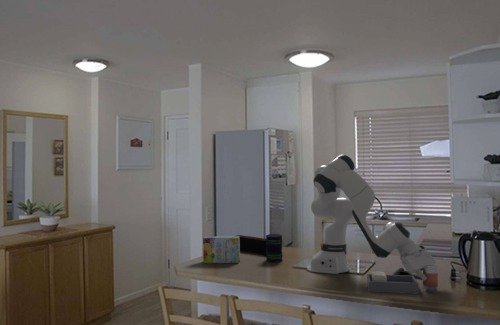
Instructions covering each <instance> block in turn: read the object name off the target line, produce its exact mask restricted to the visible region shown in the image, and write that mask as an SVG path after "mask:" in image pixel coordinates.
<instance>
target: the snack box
mask: <svg viewBox="0 0 500 325" xmlns="http://www.w3.org/2000/svg"><path fill="white" fill-rule="evenodd" d="M202 239H203V240H202V246H203V248H202V249H203V250H202V251H203V252H202V254H203V264H239V263H240V262H241V251H240V237H239V236H237V235H234V236H233V235H232V236H222V235H221V236H220V235H219V236H204V237H203V238H202Z"/></svg>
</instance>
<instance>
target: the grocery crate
mask: <svg viewBox="0 0 500 325" xmlns="http://www.w3.org/2000/svg"><path fill="white" fill-rule="evenodd" d="M386 277H387V282H383V281H372V273H367V274H366V286H367V289H368V292H373V293H374V292H375V293H376V292H377V293H378V292H379V293H396V294H397V293H398V294H413V295H414V294H416V295H418V294H419V282H418V280H416V279H417V278H414V276H405V275H392V274H386Z"/></svg>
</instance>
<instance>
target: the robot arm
mask: <svg viewBox="0 0 500 325" xmlns="http://www.w3.org/2000/svg"><path fill="white" fill-rule="evenodd" d="M313 185H314V186H315V188H316V189H317V191H318V196H317V197H316V198H315V199H313V201H312V202H311V207H310V208H311V212H312V214H313V215H314V216H316V217H320V218H328V219H334V220H335V221H334V223H331V224H329V225H328V226H326V227H325V229H324V242H321V243H320V250H319V251H318V252H317V253H315V254H314V255H313V256H312V257H311V261H310V263H309V264H308V265H307V266H306V271H308V272H312V273H322V274H333V275H334V274H335V275H339V274H340V273H346V272H349V270H350V269H349V264H348V258H347V254H348V249H347V248H348V247H347V242H346V241H347V240H346V239H347V238H346V235H347V228H348V227H349V223H351V221H352V220H353V219H354V220H355V222H356V223H357V226H358V227H359V229H360V231H361V233H362V234H363V236H364V237H365V239H366V241H367V242H368V245H369V248H370V250H371V252H372V253H373V254H374V256H375V257H376V258H381V259H383V258H384V259H385V258H387V257H389V255H390V254H392V252H394V251H397V253H398V254H399V256H400V260H401V263H402V266H403V267H404V268H405V271H408V272H409V273H410V274H416V275H418V276H419V277H421V278H422V279H421V280H422V281H423V280H426V279H427V278H428V277H427V276H426V275H424V274H423V268H424V266H426V265H435V266H436V260H435V259H434V257H433V256H432V255H431V253H430V252H428V250H426V249H427V248H426V247H425V246H424V245H423V244H418V243H416V242H415V241H414V240H412V239H411V238H410V235H411V232H410V231H409V230H408V229H407V228H406V226H405V225H404V224H403V223H402V222H396V221H394V220H392V221H390V222H387V223H386V224H385V225H383V227H382V231H381V232H380V233H378V234H377V235H374V233H373V231H372V229H371V228H370V226H369V224H368V223H367V217H368V214H369V212H370V210H372V207H373V205H374V203H375V200H376V195H375V194H376V193H375V192H374V190H373V188H372V187H371V186H370V184H369V183H368V182H367V181H366V180H365V179H364V178H363V177H362V176H361V175H360V174H359V173H358V172H356V171H355V162H354V161H353V160H352V158H351V157H349V155H346V154H340V155H337V156H336V157H334V159H332V160H331V161H330V162H328V163H326V165H320V166H318V167H317V168H316V170H315V172H314V177H313ZM341 191H342V192H343V193H344V194H345V197H340V195H341Z"/></svg>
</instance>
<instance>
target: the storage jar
mask: <svg viewBox="0 0 500 325" xmlns="http://www.w3.org/2000/svg"><path fill="white" fill-rule="evenodd" d="M265 239H266V254H265V256H266V257H265V258H266V260H265V261H266V262H269V263H280V262H282V261H283V235H282V234H279V233H278V234H277V233H274V234H273V233H272V234H266V235H265Z"/></svg>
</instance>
